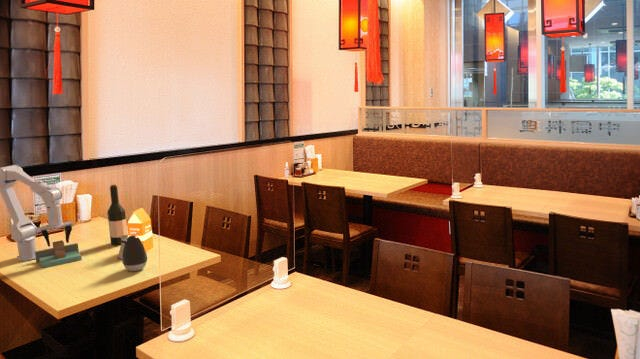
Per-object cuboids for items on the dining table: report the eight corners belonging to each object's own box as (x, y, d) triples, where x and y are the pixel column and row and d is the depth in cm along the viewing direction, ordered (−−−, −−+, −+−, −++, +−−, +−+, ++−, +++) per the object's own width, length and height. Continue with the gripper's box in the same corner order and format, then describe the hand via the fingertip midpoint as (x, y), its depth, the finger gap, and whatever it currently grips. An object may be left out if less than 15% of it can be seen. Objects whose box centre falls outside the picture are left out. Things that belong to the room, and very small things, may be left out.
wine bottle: (131, 242, 261) (125, 184, 255) (117, 246, 254) (111, 187, 248) (121, 239, 265) (115, 182, 259) (107, 244, 258) (100, 186, 252)
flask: (128, 259, 234) (126, 238, 232) (114, 259, 235) (112, 238, 233) (137, 254, 241) (135, 234, 239) (123, 254, 242) (121, 233, 240)
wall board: (36, 261, 235) (34, 251, 234) (78, 253, 246) (77, 243, 245) (40, 268, 226) (39, 257, 225) (84, 259, 237) (82, 248, 236)
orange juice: (129, 252, 244) (125, 212, 240) (139, 246, 252) (135, 207, 248) (145, 253, 242) (140, 212, 239) (153, 247, 251) (150, 207, 247)
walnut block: (54, 256, 235) (52, 242, 234) (63, 254, 238) (62, 240, 236) (56, 258, 232) (54, 244, 231) (65, 256, 234) (63, 242, 233)
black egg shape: (118, 270, 221) (114, 236, 218) (141, 263, 228) (137, 230, 225) (129, 275, 214) (126, 240, 211) (152, 268, 221) (149, 234, 219)
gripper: (38, 220, 224) (42, 249, 226) (73, 214, 232) (77, 242, 235) (35, 216, 229) (39, 245, 232) (70, 211, 238) (73, 239, 240)
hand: (58, 244), depth 234 cm, fingers open, 7 cm apart
